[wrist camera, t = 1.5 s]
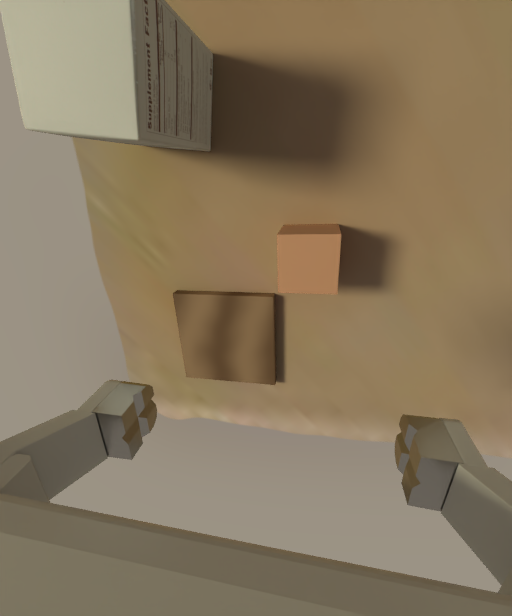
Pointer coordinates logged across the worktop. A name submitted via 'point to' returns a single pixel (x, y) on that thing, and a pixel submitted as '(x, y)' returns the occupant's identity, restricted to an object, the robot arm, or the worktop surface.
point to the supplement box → (110, 71)
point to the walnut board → (227, 335)
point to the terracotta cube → (308, 258)
